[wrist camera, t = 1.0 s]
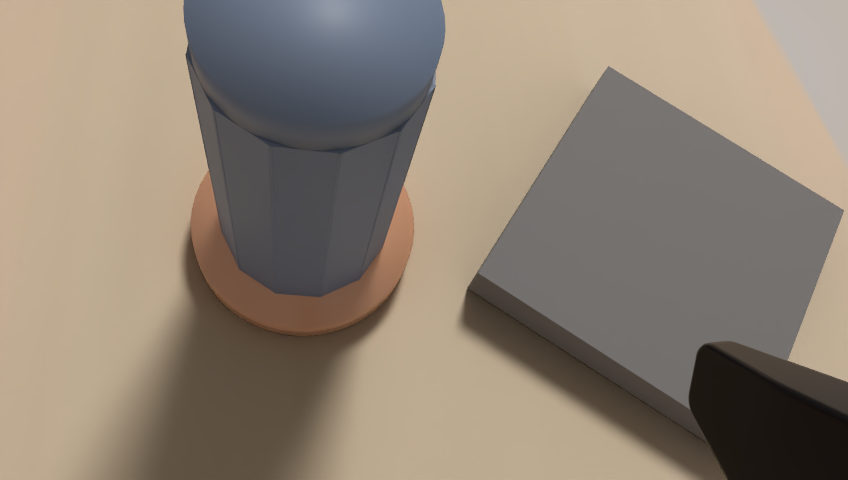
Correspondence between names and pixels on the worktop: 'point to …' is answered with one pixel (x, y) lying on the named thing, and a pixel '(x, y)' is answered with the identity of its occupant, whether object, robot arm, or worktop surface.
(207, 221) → the terracotta saucer
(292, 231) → the domed octagonal peg
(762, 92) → the worktop surface
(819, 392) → the robot arm
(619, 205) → the rubber mat
